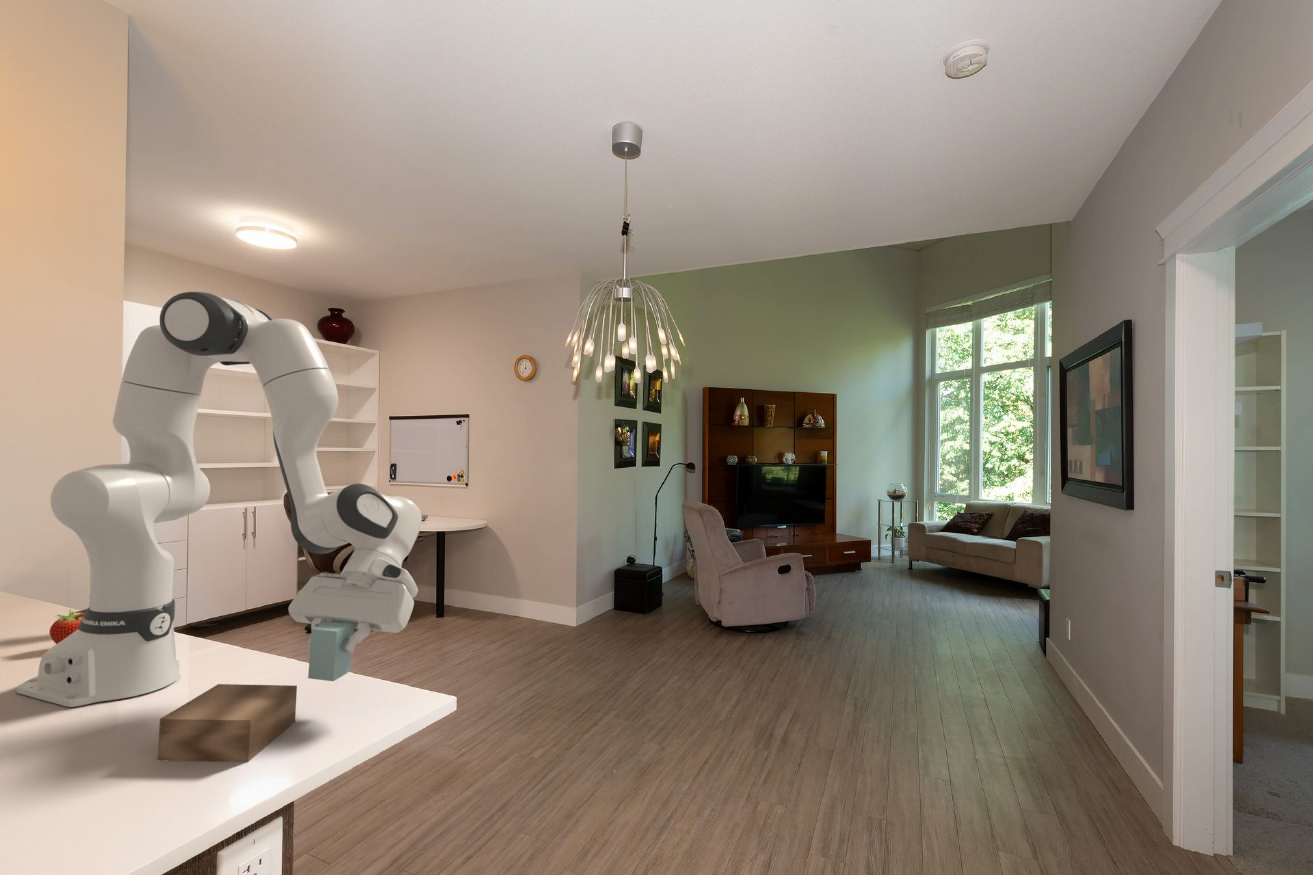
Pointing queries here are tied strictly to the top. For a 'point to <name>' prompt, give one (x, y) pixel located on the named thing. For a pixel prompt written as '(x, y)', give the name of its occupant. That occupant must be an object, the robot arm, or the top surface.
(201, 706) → the walnut block
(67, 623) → the fruit
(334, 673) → the tea tin
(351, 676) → the top surface
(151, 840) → the top surface
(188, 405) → the robot arm
